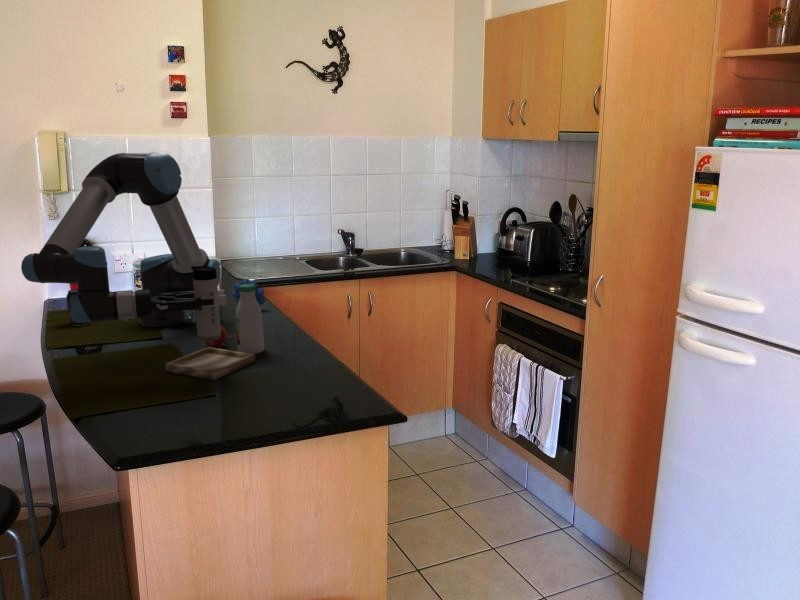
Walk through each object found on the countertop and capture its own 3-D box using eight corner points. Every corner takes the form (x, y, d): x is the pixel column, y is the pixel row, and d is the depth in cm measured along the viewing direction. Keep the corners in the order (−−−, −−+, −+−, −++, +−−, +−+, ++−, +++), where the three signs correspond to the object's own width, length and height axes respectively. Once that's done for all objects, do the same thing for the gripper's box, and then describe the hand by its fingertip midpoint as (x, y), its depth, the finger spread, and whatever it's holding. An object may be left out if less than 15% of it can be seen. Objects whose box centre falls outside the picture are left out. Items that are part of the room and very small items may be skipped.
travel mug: (198, 335, 199) (193, 264, 195) (222, 334, 200) (217, 263, 195) (194, 341, 193) (188, 268, 189) (219, 340, 194) (214, 267, 189)
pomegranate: (219, 349, 221) (192, 335, 215) (232, 330, 222) (206, 315, 216) (226, 358, 215) (199, 344, 209) (240, 338, 216) (214, 323, 210)
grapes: (231, 314, 255) (229, 281, 252) (234, 310, 262) (232, 278, 259) (264, 313, 256) (262, 280, 253) (266, 309, 262) (264, 277, 260)
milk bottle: (269, 348, 214) (265, 283, 209) (255, 356, 207) (251, 288, 202) (246, 346, 216) (242, 281, 212) (232, 354, 209) (228, 287, 205)
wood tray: (165, 371, 195) (165, 363, 194) (208, 354, 209) (208, 346, 209) (214, 380, 187) (213, 372, 187) (255, 361, 202) (254, 354, 201)
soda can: (96, 322, 247) (92, 288, 245) (85, 327, 241) (81, 292, 238) (76, 321, 248) (72, 288, 245) (65, 327, 241) (61, 292, 239)
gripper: (138, 310, 198) (223, 303, 205) (135, 327, 180) (229, 318, 187) (135, 283, 197) (221, 277, 203) (132, 297, 179) (227, 290, 186)
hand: (225, 297), depth 195 cm, fingers closed on travel mug, 6 cm apart
